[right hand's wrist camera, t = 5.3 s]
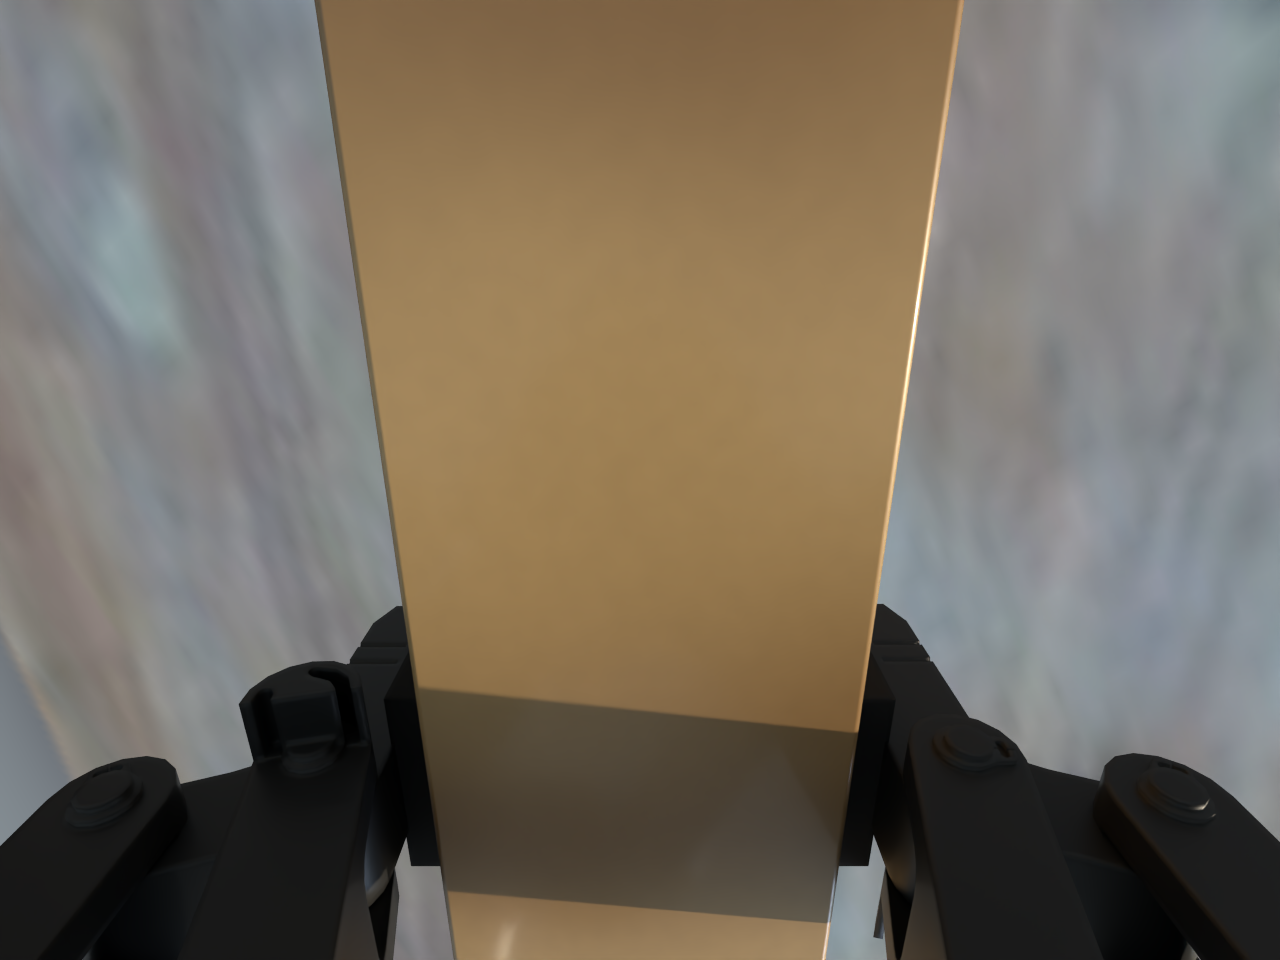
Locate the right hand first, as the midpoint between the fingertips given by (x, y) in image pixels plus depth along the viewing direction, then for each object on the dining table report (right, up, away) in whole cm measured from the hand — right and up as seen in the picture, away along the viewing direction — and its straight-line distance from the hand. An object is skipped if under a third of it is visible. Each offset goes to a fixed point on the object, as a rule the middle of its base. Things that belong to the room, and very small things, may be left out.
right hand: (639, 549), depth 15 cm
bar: (0, +8, -3) cm, 9 cm away
